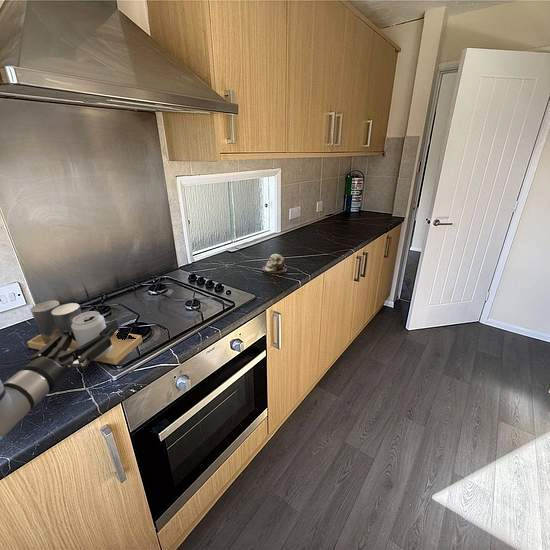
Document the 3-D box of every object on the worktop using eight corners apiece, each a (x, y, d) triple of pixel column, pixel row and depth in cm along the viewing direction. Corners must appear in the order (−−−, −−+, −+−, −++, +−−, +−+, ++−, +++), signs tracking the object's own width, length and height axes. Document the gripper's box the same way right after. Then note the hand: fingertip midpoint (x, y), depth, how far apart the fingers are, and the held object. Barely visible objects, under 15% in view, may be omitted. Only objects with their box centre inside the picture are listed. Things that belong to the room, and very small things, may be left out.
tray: (29, 348, 89) (26, 342, 88) (63, 328, 99) (60, 322, 98) (116, 366, 81) (113, 358, 80) (143, 342, 91) (141, 335, 90)
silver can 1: (38, 343, 91) (24, 310, 86) (59, 331, 97) (47, 299, 92) (56, 347, 89) (42, 313, 84) (76, 334, 95) (64, 301, 90)
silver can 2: (58, 347, 89) (45, 313, 84) (78, 334, 95) (67, 302, 90) (76, 351, 87) (63, 316, 82) (95, 337, 93) (84, 304, 88)
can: (96, 364, 77) (83, 326, 72) (76, 358, 80) (62, 321, 75) (119, 348, 84) (108, 311, 79) (99, 343, 86) (88, 307, 81)
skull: (272, 275, 133) (263, 255, 135) (264, 283, 142) (255, 264, 144) (293, 268, 139) (284, 249, 141) (284, 276, 148) (276, 258, 150)
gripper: (-1, 392, 65) (74, 333, 86) (83, 398, 63) (139, 336, 84) (-15, 365, 62) (66, 311, 83) (73, 370, 60) (133, 313, 81)
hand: (103, 323), depth 84 cm, fingers closed on can, 7 cm apart
